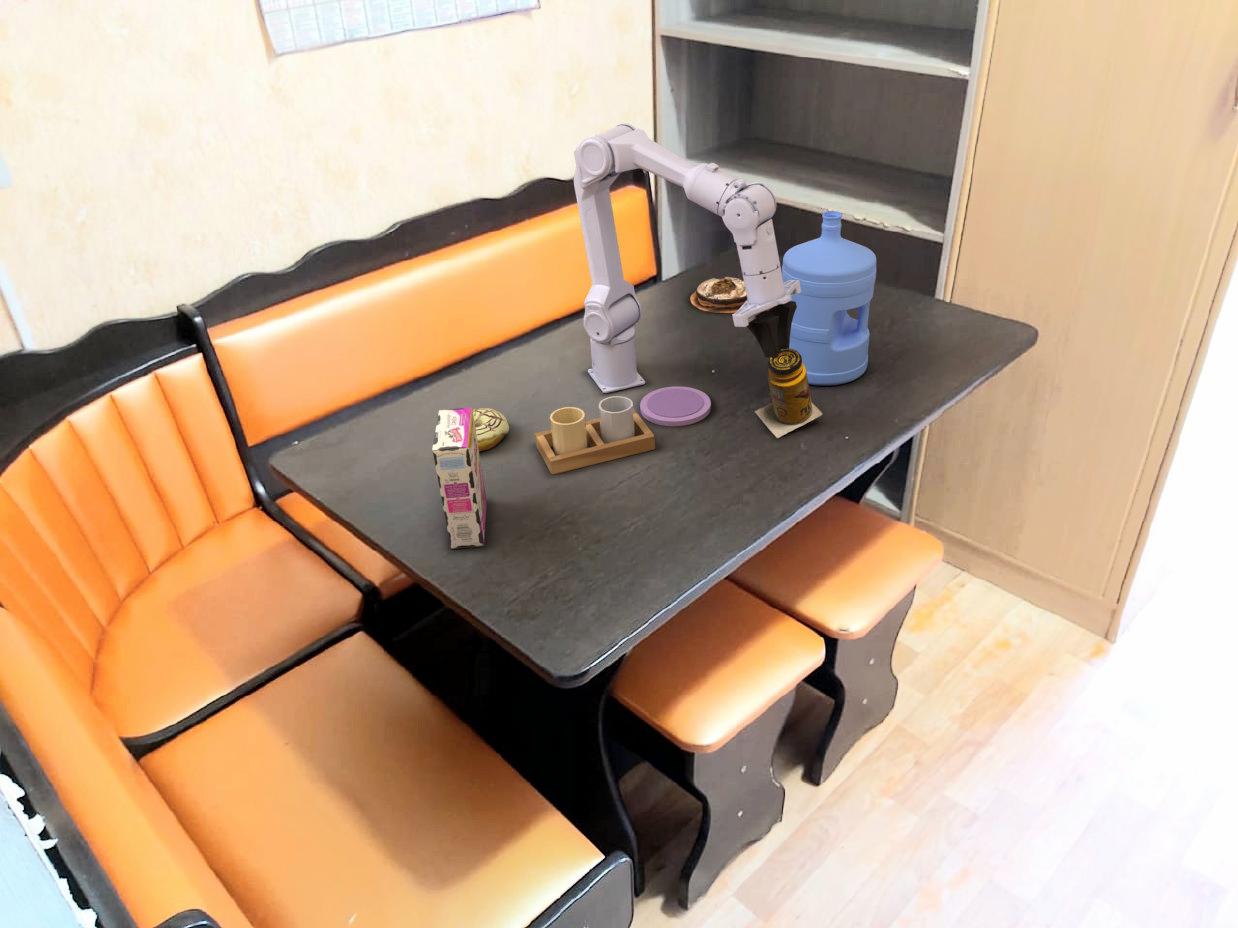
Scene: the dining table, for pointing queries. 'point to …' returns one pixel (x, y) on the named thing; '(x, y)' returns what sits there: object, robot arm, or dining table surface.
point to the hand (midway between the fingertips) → (777, 353)
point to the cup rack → (595, 447)
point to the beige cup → (568, 430)
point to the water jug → (831, 304)
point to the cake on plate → (720, 295)
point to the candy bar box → (460, 477)
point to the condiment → (788, 394)
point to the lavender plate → (675, 406)
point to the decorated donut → (489, 427)
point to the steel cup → (616, 419)
